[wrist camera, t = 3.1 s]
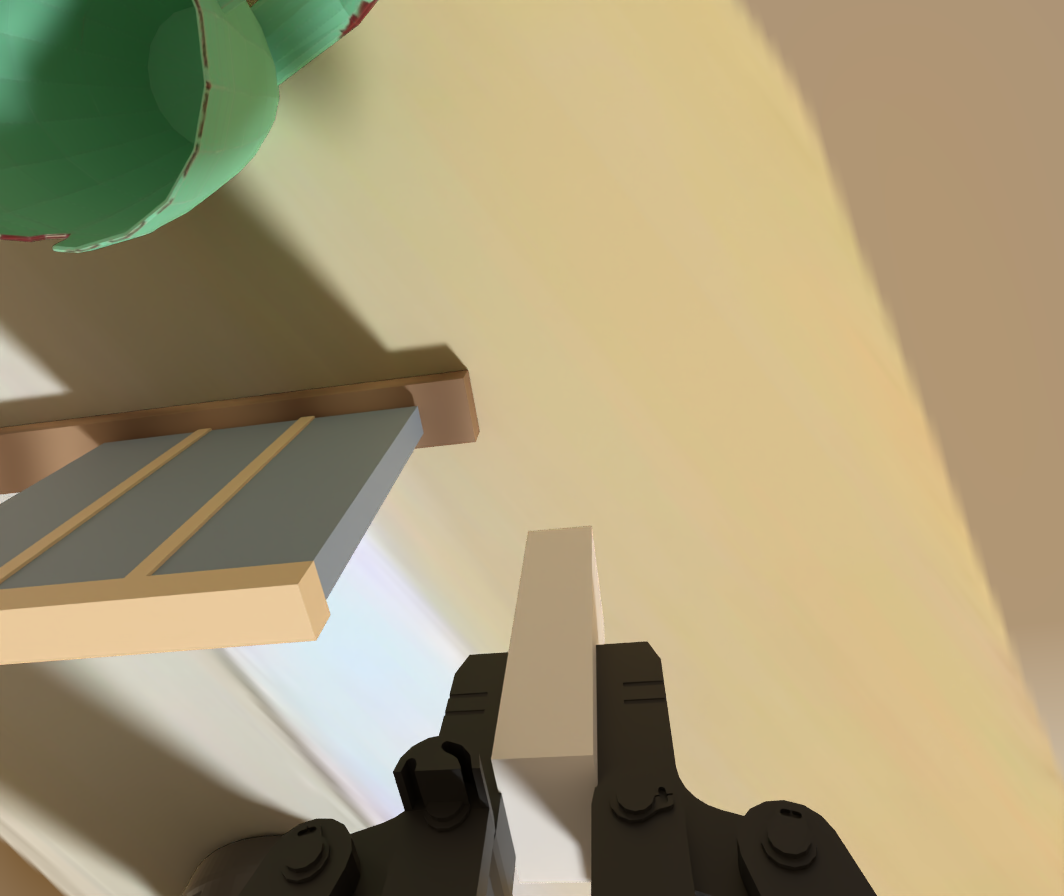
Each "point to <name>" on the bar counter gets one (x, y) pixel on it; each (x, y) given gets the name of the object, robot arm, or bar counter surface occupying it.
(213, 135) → the mug
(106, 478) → the panel
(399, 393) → the brown wooden rack
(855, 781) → the bar counter surface
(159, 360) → the bar counter surface
